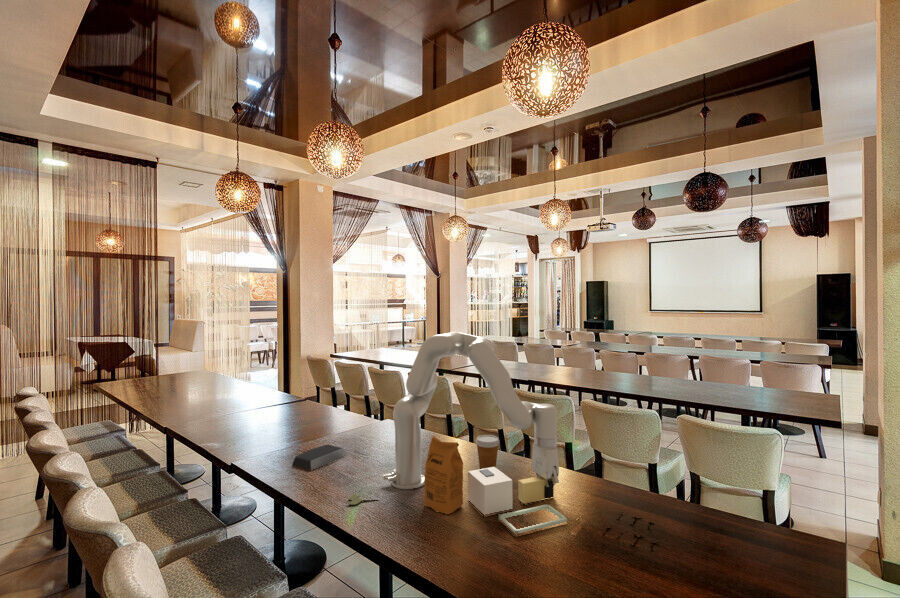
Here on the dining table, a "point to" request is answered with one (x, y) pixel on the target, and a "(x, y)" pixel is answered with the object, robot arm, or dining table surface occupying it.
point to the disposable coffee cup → (487, 450)
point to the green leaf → (354, 499)
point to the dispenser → (489, 490)
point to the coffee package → (443, 477)
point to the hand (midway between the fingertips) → (545, 494)
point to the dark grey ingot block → (319, 457)
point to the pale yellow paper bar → (532, 489)
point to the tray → (537, 526)
